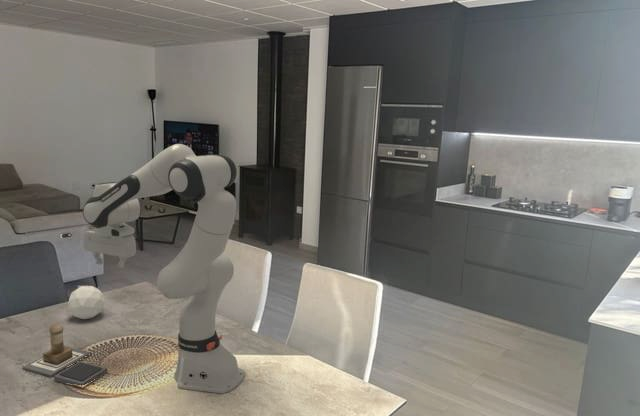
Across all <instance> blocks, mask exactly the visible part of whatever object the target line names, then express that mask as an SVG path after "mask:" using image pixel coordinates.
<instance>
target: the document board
mask: <svg viewBox="0 0 640 416" xmlns="http://www.w3.org/2000/svg"><path fill="white" fill-rule="evenodd" d="M64 347H65V348H69V349H72V358H70V359H68V360H66V361H64V362H63V363H61V364H59V365H54V364H50V363H47V362H43V356H42V357H39V358H37V359H36V360H33V361H32V362H30V363H28V364H26V365H24V366H22V370H24V371H27V372H30V373H35V374H37V375H40V376H44V377H45V376H46V377H48V378H54V376H55V375H57V374H59V373H60V372H62V371H64V369H65V368H66V367H67V366H69V365H71V364H73V363H75V362H77V361H79V360H80V359H82V358H84V357H85V356H88V355H89V354H91V355H92V352H91V351H86V350H82V349H79V348H75V347H72V346H68V345H67V346H66V345H64ZM88 357H89V356H88ZM84 359H85V358H84ZM79 362H80V361H79ZM77 363H78V362H77ZM65 370H66V369H65Z"/></svg>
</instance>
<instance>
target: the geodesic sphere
mask: <svg viewBox="0 0 640 416" xmlns="http://www.w3.org/2000/svg"><path fill="white" fill-rule="evenodd" d="M76 286H77V288H76V289H75V290H73V291H72V292H71V293H70V297H69V300H68V302H67V310H68V311H69V312H70V314H72V315H73V316H74V317H75V318H78V319H81V320H88V319H93V318H94V317H96V316H97V315H99V314H100V313H101V312H102V311H103V308H104V305H105V302H106V301H105V296H104V294H103V293H102V291H101V290H100V289H99V288H97V287H95V286H93V285H89V284H87V285H82V284H81V285H80V284H78V285H76Z"/></svg>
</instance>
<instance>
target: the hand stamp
mask: <svg viewBox="0 0 640 416" xmlns="http://www.w3.org/2000/svg"><path fill="white" fill-rule="evenodd" d="M48 330H49V334H50V350H48V351H46V352H44V353H42V357H43V362H47V363H50V364H54V365H59V364H61V363H63V362H64V361H66V360H68V359H70V358H72V349H69V348H65V347H64V346H65V345H64V326H63V325H62V324H61V323H58V322H57V323H53V324H52V325H50V327H49V329H48Z"/></svg>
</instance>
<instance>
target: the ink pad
mask: <svg viewBox="0 0 640 416" xmlns="http://www.w3.org/2000/svg"><path fill="white" fill-rule="evenodd" d="M106 374H108V368H107V367H104V366H101V365H97V364H92V363H88V362H85V361H82V360H81V361H79V362H77V363H76V364H74V365H72V366H70V367H69V368H67V369H65V370H63V371H62V372H60V373H58V374H56V375H54V376H53V378H54V381H55V382H57V383H60V384H65V385H67V384H66V383H70V384H77V385H81V386H82V385H85V384H87V383H89V382H91V381H93V380H94V379H96V378H98V377H100V376H101V377H103V376H104V375H106ZM102 375H103V376H102ZM101 377H100V378H101ZM98 379H99V378H98Z"/></svg>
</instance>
